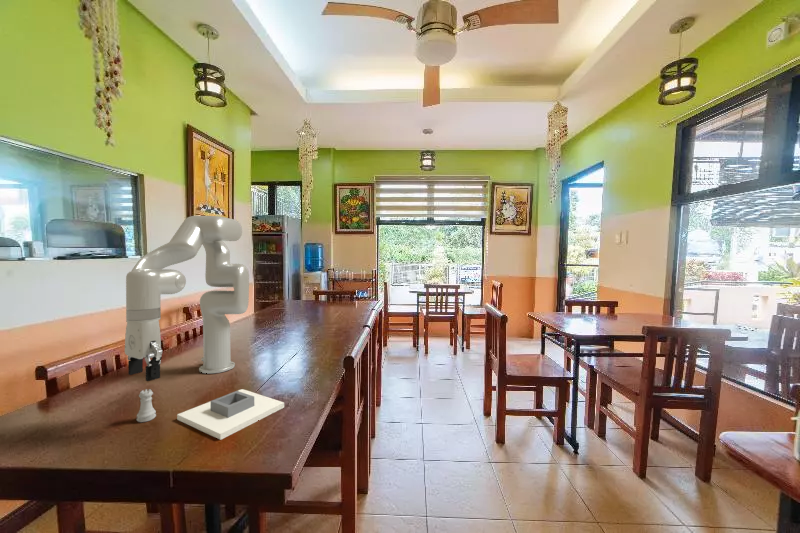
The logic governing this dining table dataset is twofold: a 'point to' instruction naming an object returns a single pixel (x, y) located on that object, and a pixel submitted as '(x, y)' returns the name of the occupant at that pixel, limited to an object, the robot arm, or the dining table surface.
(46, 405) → the dining table surface
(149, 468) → the dining table surface
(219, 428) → the socket board
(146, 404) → the rook chess piece
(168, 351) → the dining table surface
